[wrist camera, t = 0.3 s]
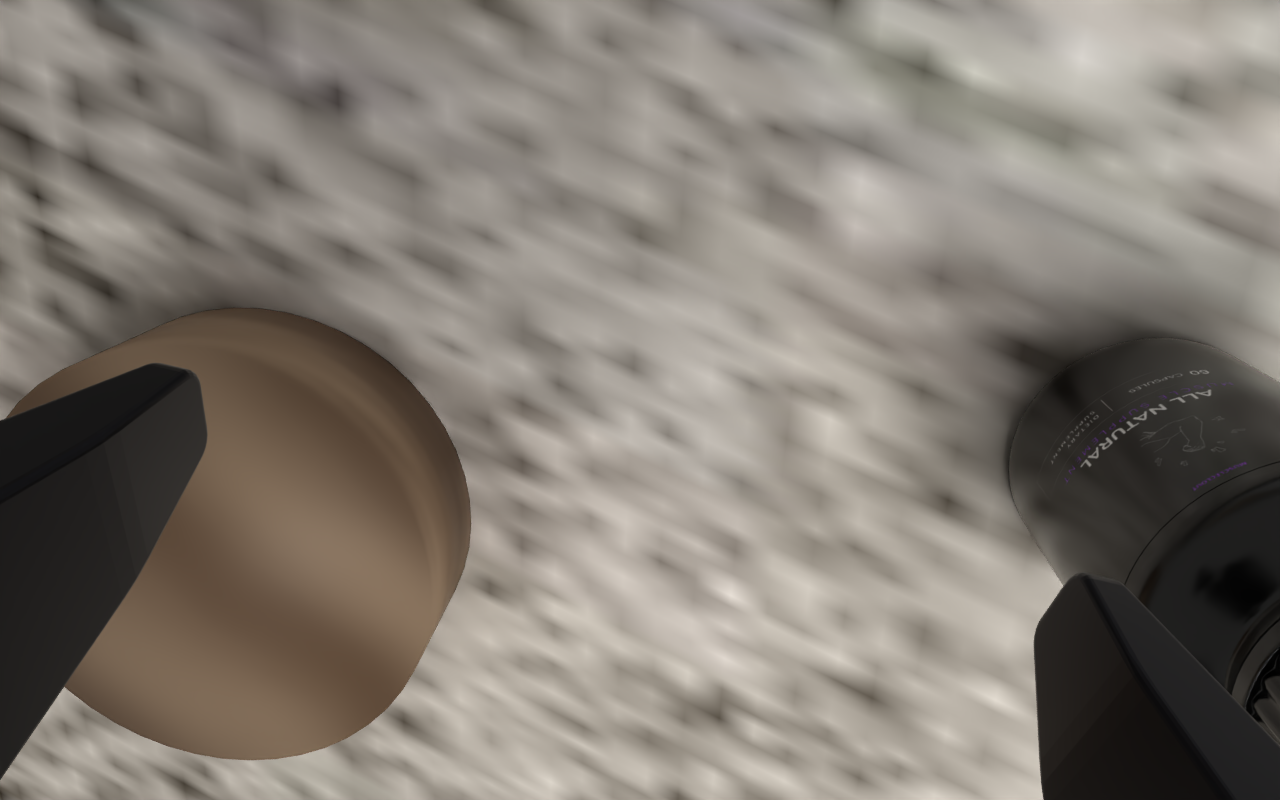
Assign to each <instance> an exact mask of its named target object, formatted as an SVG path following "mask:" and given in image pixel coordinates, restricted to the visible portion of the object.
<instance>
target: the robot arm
mask: <svg viewBox="0 0 1280 800" xmlns="http://www.w3.org/2000/svg"><path fill="white" fill-rule="evenodd" d="M207 437H208V432H207V424H206V417H205V411H204V404H203V397H202V390H201V384H200V380H199V378H198V376H197V375H196V374H195V373H194V372H193V371H191V370H189V369H185V368H181V367H176V366H172V365H167V364H163V363H150V364H147V365H144V366H141V367H138V368H136V369H133V370H131V371H128V372H125V373H123V374H120V375H118V376H115V377H113V378H110V379H107V380H105V381H102V382H100V383H97V384H94V385H92V386H89V387H87V388H84V389H81V390H79V391H76V392H74V393H71V394H68V395H66V396H63V397H61V398H58V399H55V400H53V401H50V402H48V403H45V404H43V405H40V406H37V407H35V408H32V409H30V410H27V411H24V412H22V413H19V414H17V415H14V416H11V417H9V418H6V419H4V420H1V421H0V780H1V778H2V777H3V775H4V774H5V772H6V771H7V769H8V768H9V766H10V765H11V764H12V762H13V761H14V759H15V758H16V756H17V755H18V753H19V752H20V750H21V749H22V747H23V746H24V745H25V743H26V742H27V740H28V739H29V737H30V736H31V734H32V733H33V731H34V730H35V728H36V727H37V726H38V724H39V723H40V721H41V720H42V718H43V717H44V715H45V714H46V712H47V711H48V709H49V708H50V707H51V705H52V704H53V702H54V701H55V699H56V698H57V696H58V695H59V693H60V692H61V690H62V689H63V688H64V686H65V685H66V683H67V682H68V680H69V679H70V677H71V676H72V674H73V673H74V671H75V670H76V669H77V667H78V666H79V664H80V663H81V661H82V660H83V658H84V657H85V655H86V654H87V652H88V651H89V650H90V648H91V647H92V645H93V644H94V642H95V641H96V639H97V638H98V636H99V635H100V633H101V632H102V631H103V629H104V628H105V626H106V625H107V623H108V622H109V620H110V619H111V617H112V616H113V614H114V613H115V612H116V610H117V609H118V607H119V606H120V604H121V603H122V601H123V600H124V598H125V597H126V595H127V594H128V592H129V591H130V589H131V587H132V586H133V584H134V583H135V581H136V580H137V578H138V576H139V575H140V573H141V571H142V569H143V568H144V566H145V564H146V562H147V561H148V559H149V557H150V555H151V553H152V551H153V549H154V547H155V545H156V544H157V542H158V540H159V538H160V536H161V534H162V532H163V530H164V528H165V527H166V525H167V523H168V521H169V519H170V517H171V515H172V513H173V511H174V509H175V508H176V506H177V504H178V502H179V500H180V498H181V496H182V494H183V492H184V491H185V489H186V487H187V485H188V483H189V481H190V479H191V477H192V475H193V473H194V472H195V470H196V468H197V466H198V464H199V462H200V460H201V458H202V456H203V454H204V451H205V448H206V444H207ZM1034 661H1035V681H1036V701H1037V720H1038V740H1039V760H1040V773H1041V785H1042V792H1043V799H1044V800H1280V745H1279V744H1278V743H1277V742H1276V741H1275V740H1274V739H1273V738H1272V737H1271V736H1270V735H1269V734H1268V733H1267V732H1266V731H1265V730H1264V729H1263V728H1262V727H1261V726H1260V725H1259V724H1258V723H1257V722H1256V721H1255V719H1254V718H1253V717H1252V716H1251V715H1250V714H1249V713H1248V712H1247V711H1246V710H1245V709H1244V708H1243V707H1242V706H1241V705H1240V704H1239V703H1238V702H1237V701H1236V700H1235V699H1234V698H1233V697H1232V696H1231V695H1230V694H1229V693H1228V692H1227V691H1226V690H1225V688H1224V687H1223V686H1222V685H1221V684H1220V683H1219V682H1218V681H1217V680H1216V679H1215V678H1214V677H1213V676H1212V675H1211V674H1210V673H1209V672H1208V671H1207V670H1206V669H1205V668H1204V667H1203V666H1202V665H1201V664H1200V663H1199V662H1198V661H1197V660H1196V659H1195V657H1194V656H1193V655H1192V654H1191V653H1190V652H1189V651H1188V650H1187V649H1186V648H1185V647H1184V646H1183V645H1182V644H1181V643H1180V642H1179V641H1178V640H1177V639H1176V638H1175V637H1174V636H1173V635H1172V634H1171V633H1170V632H1169V631H1168V630H1167V629H1166V627H1165V626H1164V625H1163V624H1162V623H1161V622H1160V621H1159V620H1158V619H1157V618H1156V617H1155V616H1154V615H1153V614H1152V613H1151V612H1150V611H1149V610H1148V609H1147V608H1146V607H1145V606H1144V605H1143V604H1142V603H1141V602H1140V601H1139V600H1138V599H1137V598H1136V596H1135V595H1134V594H1133V593H1132V592H1131V591H1130V590H1129V589H1128V588H1127V587H1126V586H1125V585H1124V584H1122V583H1121V582H1119V581H1117V580H1115V579H1112V578H1107V577H1103V576H1098V575H1094V574H1090V573H1085V572H1082V573H1076V574H1074V575H1073V576H1071V577H1070V578H1069V580H1068V581H1067V582H1066V583H1065V585H1064V586H1063V588H1062V589H1061V591H1060V592H1059V593H1058V595H1057V596H1056V598H1055V599H1054V601H1053V602H1052V604H1051V605H1050V606H1049V608H1048V609H1047V611H1046V612H1045V614H1044V615H1043V617H1042V618H1041V620H1040V621H1039V623H1038V626H1037V628H1036V632H1035V636H1034Z"/></svg>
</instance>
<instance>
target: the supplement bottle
mask: <svg viewBox="0 0 1280 800" xmlns="http://www.w3.org/2000/svg"><path fill="white" fill-rule="evenodd" d="M1009 480H1010V487H1011V492H1012V496H1013V499H1014V502H1015V505H1016V508H1017V510H1018V512H1019V514H1020V516H1021V518H1022V520H1023V522H1024V524H1025V525H1026V527H1027V529H1028V530H1029V532H1030V534H1031V536H1032V537H1033V539H1034V540H1035V542H1036V544H1037V545H1038V547H1039V548H1040V550H1041V552H1042V553H1043V555H1044V556H1045V558H1046V559H1047V561H1048V563H1049V564H1050V566H1051V567H1052V569H1053V570H1054V572H1055V574H1056V575H1057V577H1058V578H1059V580H1060V581H1061V583H1062V585H1063V586H1064V585H1065V583H1066V582H1067V581H1068V580H1069V578H1070V577H1071V576H1073V575H1074V574H1076V573H1082V572H1085V573H1090V574H1094V575H1098V576H1103V577H1107V578H1112V579H1115V580H1117V581H1119V582H1121V583H1122V584H1124V585H1125V586H1126V587H1127V588H1128V589H1129V590H1130V591H1131V592H1132V593H1133V594H1134V595H1135V596H1136V598H1137V599H1138V600H1139V601H1140V602H1141V603H1142V604H1143V605H1144V606H1145V607H1146V608H1147V609H1148V610H1149V611H1150V612H1151V613H1152V614H1153V615H1154V616H1155V617H1156V618H1157V619H1158V620H1159V621H1160V622H1161V623H1162V624H1163V625H1164V626H1165V627H1166V629H1167V630H1168V631H1169V632H1170V633H1171V634H1172V635H1173V636H1174V637H1175V638H1176V639H1177V640H1178V641H1179V642H1180V643H1181V644H1182V645H1183V646H1184V647H1185V648H1186V649H1187V650H1188V651H1189V652H1190V653H1191V654H1192V655H1193V656H1194V657H1195V659H1196V660H1197V661H1198V662H1199V663H1200V664H1201V665H1202V666H1203V667H1204V668H1205V669H1206V670H1207V671H1208V672H1209V673H1210V674H1211V675H1212V676H1213V677H1214V678H1215V679H1216V680H1217V681H1218V682H1219V683H1220V684H1221V685H1222V686H1223V687H1224V688H1225V690H1226V691H1227V692H1228V693H1229V694H1230V695H1231V696H1232V697H1233V698H1234V699H1235V700H1236V701H1237V702H1238V703H1239V704H1240V705H1241V706H1242V707H1243V708H1244V709H1245V710H1246V711H1247V712H1248V713H1249V714H1250V715H1251V716H1252V717H1253V718H1254V719H1255V721H1256V722H1257V723H1258V724H1259V725H1260V726H1261V727H1262V728H1263V729H1264V730H1265V731H1266V732H1267V733H1268V734H1269V735H1270V736H1271V737H1272V738H1273V739H1274V740H1275V741H1276V742H1277V743H1278V744H1279V745H1280V382H1278V381H1276V380H1274V379H1273V378H1271V377H1269V376H1268V375H1266V374H1264V373H1262V372H1261V371H1259V370H1257V369H1255V368H1254V367H1252V366H1250V365H1248V364H1246V363H1244V362H1242V361H1241V360H1239V359H1237V358H1235V357H1233V356H1231V355H1230V354H1228V353H1226V352H1223V351H1221V350H1219V349H1216V348H1214V347H1211V346H1208V345H1205V344H1202V343H1199V342H1194V341H1189V340H1184V339H1175V338H1147V339H1138V340H1132V341H1126V342H1122V343H1119V344H1115V345H1112V346H1109V347H1106V348H1103V349H1100V350H1098V351H1096V352H1093V353H1091V354H1089V355H1087V356H1085V357H1083V358H1082V359H1080V360H1078V361H1076V362H1075V363H1073V364H1072V365H1070V366H1069V367H1067V368H1065V369H1064V370H1063V371H1062V372H1060V373H1059V374H1058V375H1057V376H1055V377H1054V378H1053V379H1052V380H1051V381H1050V382H1049V383H1048V384H1047V385H1046V386H1045V387H1044V388H1043V389H1042V390H1041V391H1040V392H1039V393H1038V395H1037V396H1036V397H1035V398H1034V400H1033V401H1032V402H1031V404H1030V405H1029V407H1028V408H1027V410H1026V412H1025V413H1024V415H1023V417H1022V419H1021V421H1020V423H1019V425H1018V427H1017V430H1016V433H1015V435H1014V438H1013V442H1012V446H1011V452H1010V459H1009Z"/></svg>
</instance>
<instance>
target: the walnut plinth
mask: <svg viewBox="0 0 1280 800" xmlns="http://www.w3.org/2000/svg"><path fill="white" fill-rule="evenodd" d="M150 363H163V364H167V365H172V366H176V367H181V368H185V369H189V370H191V371H193V372H194V373H195V374H196V375H197V376H198V378H199V380H200V384H201V390H202V397H203V404H204V411H205V417H206V424H207V432H208V437H207V444H206V448H205V451H204V454H203V456H202V458H201V460H200V462H199V464H198V466H197V468H196V470H195V472H194V473H193V475H192V477H191V479H190V481H189V483H188V485H187V487H186V489H185V491H184V492H183V494H182V496H181V498H180V500H179V502H178V504H177V506H176V508H175V509H174V511H173V513H172V515H171V517H170V519H169V521H168V523H167V525H166V527H165V528H164V530H163V532H162V534H161V536H160V538H159V540H158V542H157V544H156V545H155V547H154V549H153V551H152V553H151V555H150V557H149V559H148V561H147V562H146V564H145V566H144V568H143V569H142V571H141V573H140V575H139V576H138V578H137V580H136V581H135V583H134V584H133V586H132V587H131V589H130V591H129V592H128V594H127V595H126V597H125V598H124V600H123V601H122V603H121V604H120V606H119V607H118V609H117V610H116V612H115V613H114V614H113V616H112V617H111V619H110V620H109V622H108V623H107V625H106V626H105V628H104V629H103V631H102V632H101V633H100V635H99V636H98V638H97V639H96V641H95V642H94V644H93V645H92V647H91V648H90V650H89V651H88V652H87V654H86V655H85V657H84V658H83V660H82V661H81V663H80V664H79V666H78V667H77V669H76V670H75V671H74V673H73V674H72V676H71V677H70V679H69V680H68V682H67V683H66V685H65V686H64V687H65V688H67V689H68V690H69V691H70V692H72V693H73V694H74V695H75V696H77V697H78V698H79V699H81V700H82V701H83V702H84V703H86V704H87V705H88V706H90V707H91V708H93V709H94V710H96V711H97V712H99V713H100V714H102V715H104V716H105V717H107V718H108V719H110V720H112V721H113V722H115V723H117V724H119V725H121V726H123V727H125V728H127V729H129V730H131V731H132V732H134V733H136V734H138V735H140V736H143V737H145V738H148V739H151V740H153V741H156V742H158V743H161V744H163V745H166V746H169V747H173V748H176V749H180V750H183V751H187V752H190V753H194V754H199V755H205V756H211V757H217V758H223V759H238V760H265V759H279V758H285V757H291V756H297V755H302V754H305V753H309V752H312V751H316V750H319V749H322V748H326V747H328V746H330V745H332V744H335V743H337V742H339V741H341V740H343V739H346V738H348V737H349V736H351V735H353V734H354V733H356V732H357V731H359V730H361V729H362V728H364V727H365V726H367V725H368V724H370V723H371V722H372V721H373V720H374V719H375V718H377V717H378V716H379V715H380V714H381V713H382V712H384V711H385V710H386V709H387V708H388V707H389V705H390V704H391V703H392V702H393V701H394V700H395V698H396V697H397V696H398V695H399V694H400V693H401V691H402V690H403V688H404V687H405V685H406V683H407V682H408V680H409V678H410V677H411V675H412V674H413V672H414V670H415V668H416V666H417V664H418V662H419V660H420V658H421V656H422V655H423V653H424V651H425V649H426V647H427V645H428V643H429V641H430V639H431V637H432V635H433V633H434V631H435V629H436V627H437V625H438V623H439V621H440V619H441V617H442V615H443V613H444V611H445V609H446V607H447V605H448V603H449V601H450V599H451V598H452V596H453V594H454V592H455V590H456V587H457V585H458V582H459V580H460V577H461V575H462V573H463V570H464V567H465V562H466V558H467V554H468V550H469V543H470V531H471V514H470V499H469V494H468V489H467V484H466V479H465V475H464V472H463V469H462V466H461V463H460V460H459V457H458V455H457V452H456V450H455V448H454V446H453V444H452V442H451V440H450V437H449V435H448V433H447V431H446V429H445V427H444V426H443V424H442V423H441V421H440V420H439V418H438V417H437V415H436V414H435V412H434V411H433V409H432V408H431V406H430V405H429V404H428V402H427V401H426V400H425V399H424V398H423V396H422V395H421V394H420V393H419V392H418V391H417V389H416V388H415V387H414V386H413V385H412V383H411V382H409V381H408V380H407V379H406V378H405V377H404V376H403V375H402V374H401V373H400V372H399V371H398V370H397V369H395V368H394V367H393V366H392V365H391V364H390V363H389V362H387V361H386V360H385V359H383V358H382V357H381V356H379V355H378V354H376V353H375V352H374V351H372V350H371V349H370V348H368V347H367V346H365V345H363V344H362V343H360V342H358V341H356V340H355V339H353V338H351V337H349V336H348V335H346V334H344V333H342V332H340V331H338V330H335V329H333V328H331V327H328V326H326V325H324V324H321V323H319V322H317V321H314V320H310V319H307V318H303V317H300V316H296V315H293V314H290V313H285V312H278V311H272V310H266V309H257V308H226V309H217V310H207V311H203V312H199V313H195V314H191V315H187V316H183V317H180V318H178V319H175V320H173V321H170V322H168V323H166V324H163V325H161V326H158V327H156V328H154V329H152V330H149V331H147V332H145V333H143V334H141V335H138V336H136V337H134V338H132V339H129V340H127V341H125V342H123V343H121V344H118V345H116V346H114V347H112V348H109V349H107V350H105V351H103V352H101V353H98V354H96V355H94V356H92V357H89V358H87V359H85V360H83V361H80V362H78V363H76V364H74V365H72V366H69V367H67V368H65V369H63V370H61V371H59V372H58V373H56V374H55V375H53V376H51V377H50V378H48V379H46V380H45V381H43V382H42V383H40V384H39V385H37V386H36V387H35V388H34V389H33V390H32V391H31V392H30V393H28V394H27V395H26V396H25V397H24V398H23V399H22V400H20V401H19V402H18V404H17V405H16V406H15V407H14V409H13V410H12V411H11V412H10V414H9V415H8V416H7V417H6V418H9V417H11V416H14V415H17V414H19V413H22V412H24V411H27V410H30V409H32V408H35V407H37V406H40V405H43V404H45V403H48V402H50V401H53V400H55V399H58V398H61V397H63V396H66V395H68V394H71V393H74V392H76V391H79V390H81V389H84V388H87V387H89V386H92V385H94V384H97V383H100V382H102V381H105V380H107V379H110V378H113V377H115V376H118V375H120V374H123V373H125V372H128V371H131V370H133V369H136V368H138V367H141V366H144V365H147V364H150Z"/></svg>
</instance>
